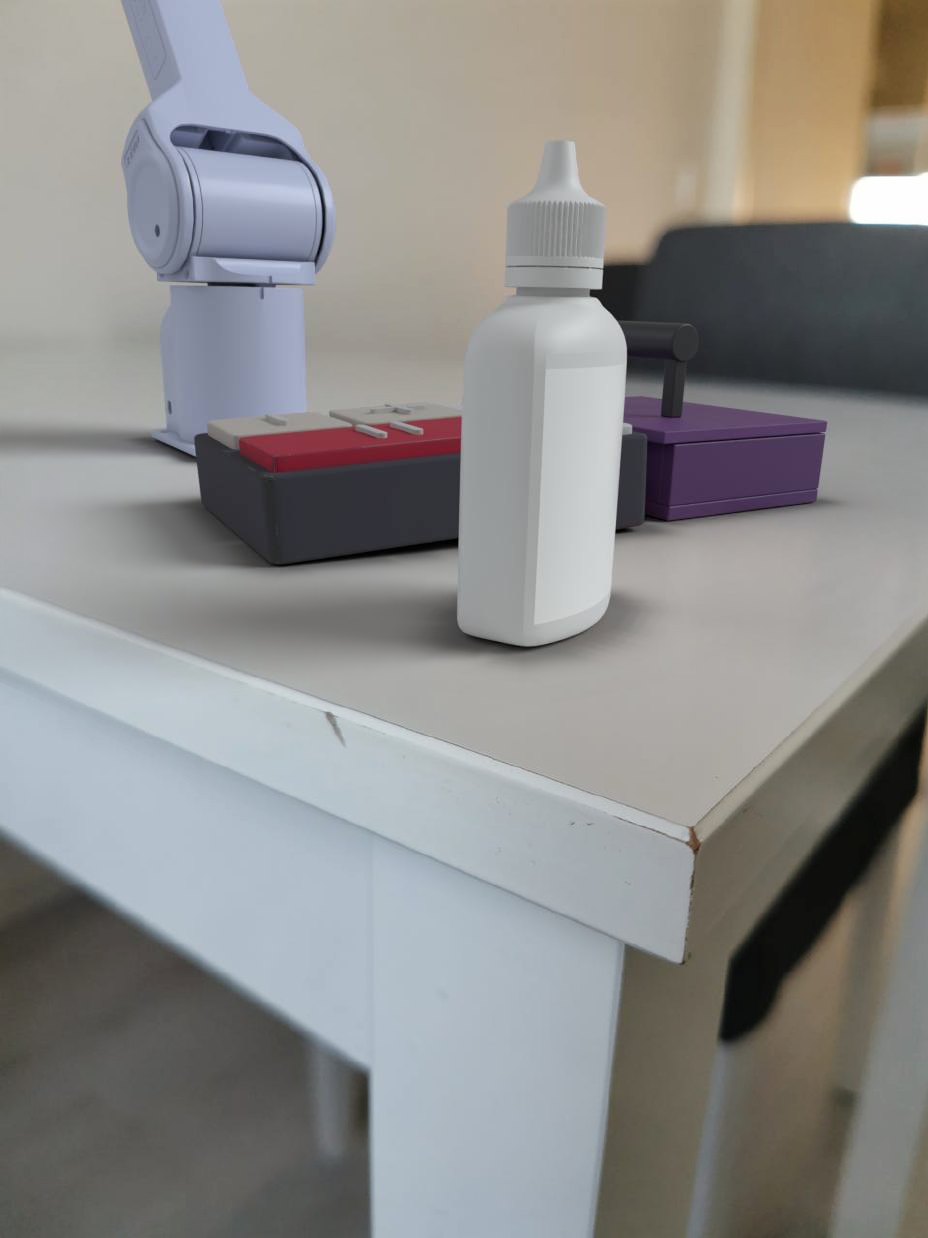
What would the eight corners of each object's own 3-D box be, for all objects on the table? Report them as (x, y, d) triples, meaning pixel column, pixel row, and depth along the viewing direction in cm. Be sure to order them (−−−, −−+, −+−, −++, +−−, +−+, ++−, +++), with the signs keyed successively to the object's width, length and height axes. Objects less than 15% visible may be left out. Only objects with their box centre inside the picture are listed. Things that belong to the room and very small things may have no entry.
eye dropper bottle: (667, 626, 27) (711, 143, 23) (493, 659, 24) (512, 116, 20) (570, 586, 30) (596, 162, 26) (410, 610, 27) (413, 141, 24)
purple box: (667, 521, 40) (674, 444, 39) (499, 474, 50) (502, 412, 49) (817, 501, 44) (826, 433, 43) (636, 463, 54) (641, 406, 53)
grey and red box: (188, 414, 40) (511, 388, 46) (200, 518, 41) (512, 478, 47) (260, 453, 30) (654, 413, 36) (273, 585, 32) (649, 525, 38)
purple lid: (663, 444, 38) (673, 325, 37) (492, 412, 48) (495, 317, 47) (826, 432, 43) (840, 326, 42) (641, 405, 53) (647, 319, 52)
